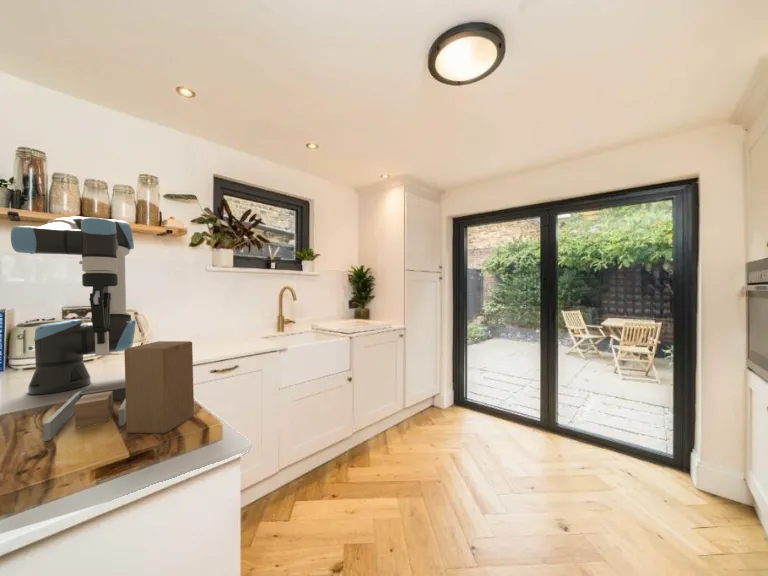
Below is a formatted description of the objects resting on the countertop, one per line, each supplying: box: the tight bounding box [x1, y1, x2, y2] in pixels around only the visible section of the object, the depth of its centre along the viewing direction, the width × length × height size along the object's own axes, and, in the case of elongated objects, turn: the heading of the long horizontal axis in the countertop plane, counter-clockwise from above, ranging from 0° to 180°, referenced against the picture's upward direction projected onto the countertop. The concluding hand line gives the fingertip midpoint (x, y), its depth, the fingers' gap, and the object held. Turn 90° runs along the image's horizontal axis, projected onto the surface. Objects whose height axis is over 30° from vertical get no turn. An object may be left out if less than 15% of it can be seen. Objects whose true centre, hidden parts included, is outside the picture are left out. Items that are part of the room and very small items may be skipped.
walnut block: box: [74, 391, 114, 429], centre depth 81 cm, size 8×6×6 cm
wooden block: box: [123, 340, 195, 435], centre depth 78 cm, size 10×10×20 cm
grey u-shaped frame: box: [43, 386, 126, 442], centre depth 85 cm, size 26×14×4 cm, turn 33°
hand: (102, 354), depth 90 cm, fingers closed
